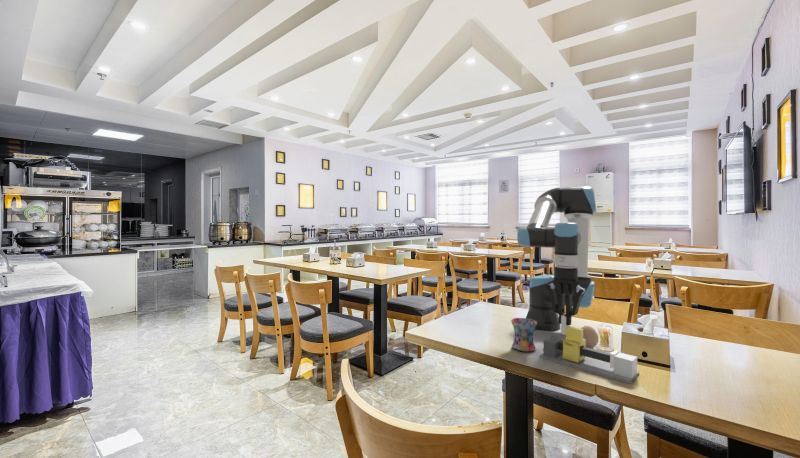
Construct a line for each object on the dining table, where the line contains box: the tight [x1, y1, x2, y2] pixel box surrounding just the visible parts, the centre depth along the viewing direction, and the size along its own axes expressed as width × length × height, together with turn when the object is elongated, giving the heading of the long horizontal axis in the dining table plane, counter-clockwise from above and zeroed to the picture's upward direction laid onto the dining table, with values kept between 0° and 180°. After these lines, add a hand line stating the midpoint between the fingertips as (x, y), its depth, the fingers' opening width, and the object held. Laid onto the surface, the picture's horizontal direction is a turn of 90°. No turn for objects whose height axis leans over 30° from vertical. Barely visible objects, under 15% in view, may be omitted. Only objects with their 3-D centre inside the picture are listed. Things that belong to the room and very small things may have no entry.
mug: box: [510, 317, 537, 352], centre depth 136 cm, size 12×9×11 cm
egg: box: [580, 325, 599, 349], centre depth 137 cm, size 7×7×8 cm
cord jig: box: [538, 335, 640, 384], centre depth 120 cm, size 10×28×7 cm, turn 43°
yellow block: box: [563, 325, 586, 362], centre depth 123 cm, size 6×5×10 cm
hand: (564, 333), depth 125 cm, fingers closed
